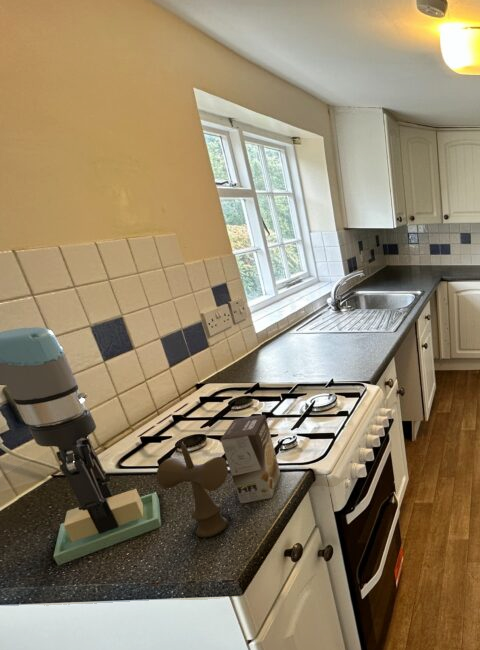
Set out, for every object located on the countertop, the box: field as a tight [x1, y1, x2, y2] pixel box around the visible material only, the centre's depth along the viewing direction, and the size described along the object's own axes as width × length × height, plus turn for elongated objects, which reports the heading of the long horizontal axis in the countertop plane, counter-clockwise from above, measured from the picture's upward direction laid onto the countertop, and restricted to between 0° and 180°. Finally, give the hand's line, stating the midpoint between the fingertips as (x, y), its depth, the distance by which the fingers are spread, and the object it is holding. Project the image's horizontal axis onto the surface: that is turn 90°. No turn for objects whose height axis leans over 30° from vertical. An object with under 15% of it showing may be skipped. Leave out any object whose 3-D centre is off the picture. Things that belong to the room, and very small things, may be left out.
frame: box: [53, 491, 162, 566], centre depth 80 cm, size 14×10×2 cm
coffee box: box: [219, 414, 281, 504], centre depth 89 cm, size 9×6×16 cm
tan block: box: [63, 488, 143, 542], centre depth 79 cm, size 10×5×4 cm, turn 130°
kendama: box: [156, 442, 229, 538], centre depth 77 cm, size 6×10×20 cm, turn 88°
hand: (109, 521), depth 80 cm, fingers closed on tan block, 5 cm apart
